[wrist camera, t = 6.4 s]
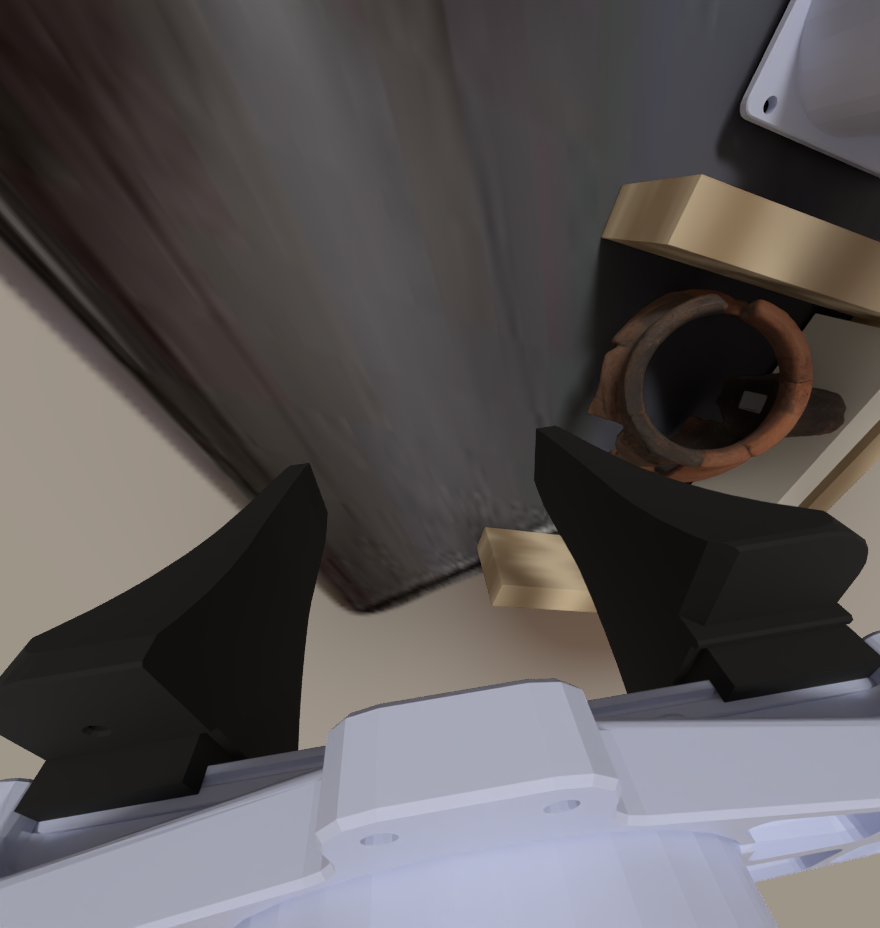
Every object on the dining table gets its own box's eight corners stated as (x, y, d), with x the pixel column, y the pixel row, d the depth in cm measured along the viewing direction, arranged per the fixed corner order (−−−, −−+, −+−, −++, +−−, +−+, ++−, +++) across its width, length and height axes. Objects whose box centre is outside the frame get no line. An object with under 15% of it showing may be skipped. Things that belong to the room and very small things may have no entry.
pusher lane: (903, 284, 20) (1036, 301, 16) (674, 566, 31) (718, 620, 27) (622, 184, 16) (701, 174, 12) (476, 547, 28) (492, 605, 23)
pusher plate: (836, 319, 21) (949, 345, 16) (664, 545, 29) (709, 599, 25) (815, 313, 20) (925, 338, 16) (648, 543, 29) (691, 598, 25)
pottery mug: (560, 468, 25) (599, 492, 16) (569, 317, 23) (615, 262, 15) (760, 474, 23) (910, 504, 15) (779, 315, 22) (952, 255, 14)
